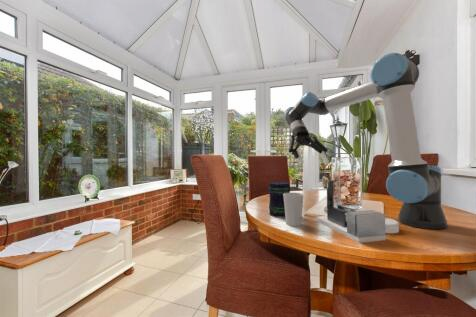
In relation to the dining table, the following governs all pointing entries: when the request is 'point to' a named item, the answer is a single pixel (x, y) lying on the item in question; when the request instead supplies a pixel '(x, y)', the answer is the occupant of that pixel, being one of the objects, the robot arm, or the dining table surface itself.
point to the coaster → (391, 226)
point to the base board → (344, 231)
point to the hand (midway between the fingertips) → (314, 163)
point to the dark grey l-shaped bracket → (331, 196)
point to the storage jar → (277, 198)
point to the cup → (293, 208)
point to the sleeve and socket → (358, 221)
